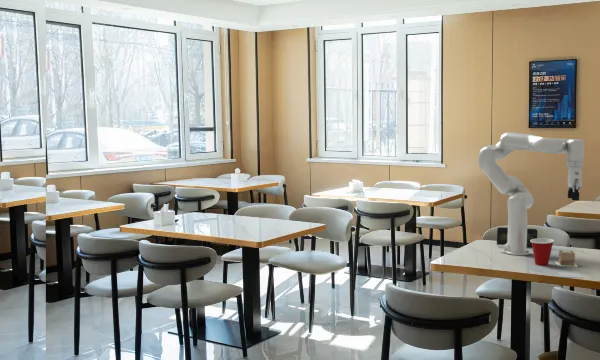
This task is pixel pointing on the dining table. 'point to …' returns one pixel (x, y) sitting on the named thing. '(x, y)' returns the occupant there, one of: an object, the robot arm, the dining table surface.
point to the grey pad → (570, 275)
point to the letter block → (566, 257)
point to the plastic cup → (542, 250)
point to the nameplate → (503, 236)
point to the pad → (566, 265)
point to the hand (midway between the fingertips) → (573, 199)
